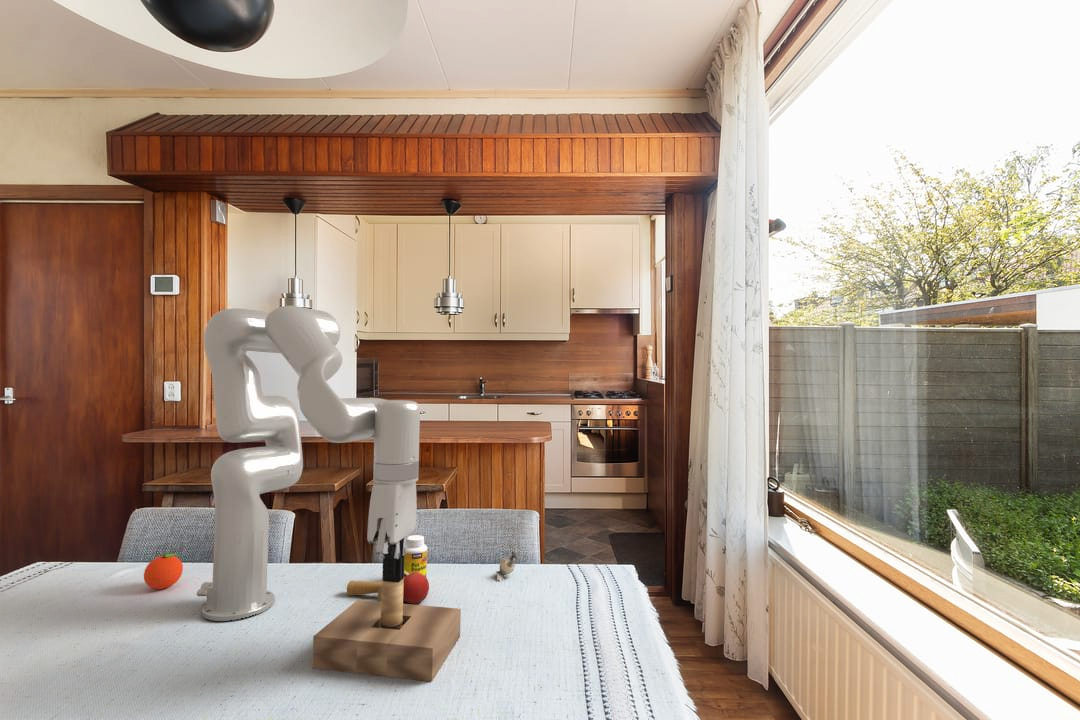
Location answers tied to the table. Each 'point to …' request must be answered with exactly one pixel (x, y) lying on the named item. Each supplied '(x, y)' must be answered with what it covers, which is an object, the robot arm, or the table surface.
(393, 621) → the oak peg
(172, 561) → the clementine
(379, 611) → the seat board
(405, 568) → the supplement bottle
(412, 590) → the kendama
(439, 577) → the table surface
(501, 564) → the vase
